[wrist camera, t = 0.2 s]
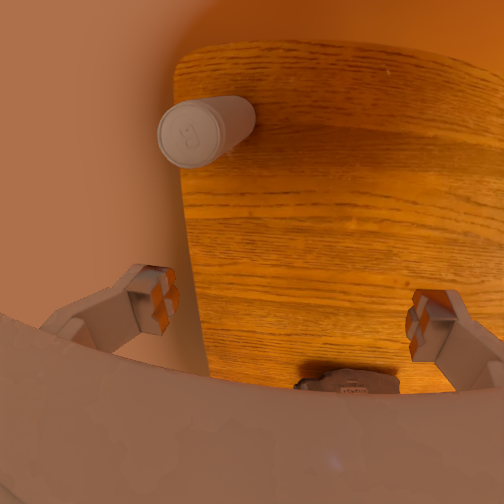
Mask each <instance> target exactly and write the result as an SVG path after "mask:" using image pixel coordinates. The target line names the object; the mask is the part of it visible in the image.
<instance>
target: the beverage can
mask: <svg viewBox="0 0 504 504" xmlns="http://www.w3.org/2000/svg"><path fill="white" fill-rule="evenodd" d="M255 120H256V115H255V110H254V108H253V106H252V105H251V103H249V102H248V101H247V100H246V99H244V98H242V97H239V96H235V95H234V96H220V97H211V98H202V99H194V100H187V101H184V102H181V103H178V104H177V105H175V106H174V107H172V108H171V109H169V110H168V111H167V112H166V113H165V114H164V116H163V117H162V119H161V121H160V124H159V127H158V132H157V135H158V143H159V146H160V149H161V151H162V152H163V154H164V156H165V157H166V158H167V159H168V160H169V161H170V162H171V163H173V164H175V165H177V166H179V167H182V168H199V167H202V166H206V165H208V164H209V163H211V162H213V161H214V160H216V159H217V158H219V157H220V156H221V155H223V154H224V153H225V152H227V151H228V150H230V149H231V148H232V147H234V146H235V145H237V144H238V143H240V142H241V141H242V140H244V139H245V138H247V137H248V136H249V135H250V134H251V132H252V130H253V129H254V126H255Z"/></svg>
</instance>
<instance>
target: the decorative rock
mask: <svg viewBox="0 0 504 504" xmlns="http://www.w3.org/2000/svg"><path fill="white" fill-rule="evenodd" d="M399 384H400V381H399V379H398V378H397V377H395V376H392V375H388V374H381V373H376V372H374V371H365V370H353V369H350V368H343V369H340V370H332V371H328V372H326V373H323V374H322V376H321V377H320V378H319V379H315V378H303V379H301V380H300V381H299V382H298V384H295V385H294V386H293V389H298V390H309V391H322V392H337V393H358V394H400V391H399Z"/></svg>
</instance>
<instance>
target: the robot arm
mask: <svg viewBox="0 0 504 504" xmlns="http://www.w3.org/2000/svg"><path fill="white" fill-rule="evenodd" d="M175 280H176V276H175V272H174V270H173V269H172V268H166V267H159V266H151V265H144V264H133V265H132V266H131V267H130V268H129V269H128V270H127V271H126V272H125V274H123V276H122V277H121V278H120V279H119V280H118V281H117V282H116V283H115V284H114V286H113V287H112V288H109V287H108V288H105V289H103V290H101V291H98V292H96V293H94V294H92V295H89V296H87V297H85V298H83V299H80V300H78V301H76V302H74V303H71V304H69V305H67V306H65V307H62V308H60V309H58V310H56V311H55V312H54V313H53V314H52V315H51V316H50V317H49V318H48V319H47V320H46V322H45V323H44V324H43V325H42V326H41V327H40V328H39V329H37V328H35V327H32V326H29V325H27V324H25V323H22V322H20V321H18V320H15V319H13V318H10V317H8V316H6V315H4V314H2V313H0V504H504V343H503V342H502V341H501V340H500V339H498V338H497V337H496V336H495V335H493V334H492V333H491V332H490V331H488V330H487V329H486V328H484V327H483V326H482V325H481V324H479V323H478V322H477V321H472V319H471V317H470V315H469V313H468V311H467V309H466V307H465V305H464V303H463V301H462V299H461V297H460V295H459V293H458V291H456V290H429V289H416V291H415V292H414V295H413V298H412V300H413V304H414V306H412V307H411V308H410V309H409V310H408V313H407V317H406V323H405V331H406V336H407V338H408V339H409V340H410V341H411V343H410V345H409V349H410V354H411V358H412V362H435V365H436V366H437V367H438V368H439V369H440V371H441V372H442V373H443V374H444V376H445V377H446V378H447V379H448V381H449V382H450V383H451V384H452V386H453V387H454V388H455V389H456V391H455V392H441V393H421V394H358V393H337V392H322V391H309V390H298V389H288V388H279V387H271V386H263V385H255V384H248V383H241V382H235V381H229V380H223V379H217V378H212V377H206V376H201V375H196V374H191V373H186V372H181V371H177V370H172V369H167V368H163V367H159V366H155V365H151V364H147V363H143V362H139V361H136V360H132V359H128V358H124V357H121V356H117V355H114V354H111V353H112V352H114V351H116V350H117V349H119V348H120V347H121V346H123V345H124V344H126V343H127V342H129V341H130V340H132V339H133V338H135V337H136V336H137V335H139V334H140V332H143V333H148V334H154V335H159V336H162V335H163V333H164V331H165V330H166V328H167V326H168V325H169V319H168V318H169V317H171V316H173V315H175V313H176V311H177V309H178V305H179V291H178V288H177V287H176V286H175V285H174V284H173V283H174V282H175Z"/></svg>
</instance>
